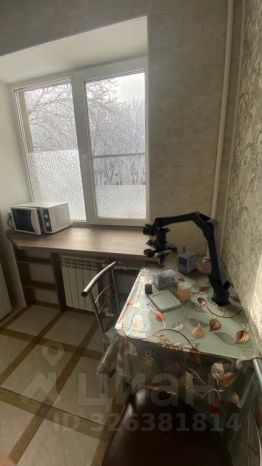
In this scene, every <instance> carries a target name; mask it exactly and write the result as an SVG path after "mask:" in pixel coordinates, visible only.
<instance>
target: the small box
mask: <svg viewBox="0 0 262 466" xmlns="http://www.w3.org/2000/svg"><path fill="white" fill-rule="evenodd" d="M177 257H178V259H177V260H178V263H177V272H179V273H181V274H184V275H188V274H190V273H191V272H192V271H194V270H196V263H197V262H196V259H197V253H195V252H192V251H188V250H187V251H185V253H184V254H182V255H180V256H178V255H177Z"/></svg>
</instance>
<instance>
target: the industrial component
mask: <svg viewBox="0 0 262 466" xmlns="http://www.w3.org/2000/svg"><path fill="white" fill-rule="evenodd" d="M181 246H182V247H181V250H182V251H181V252H178V254H177V258H178V256H180V255H182V254H184V253H185V252H187V251H186V248H187V247H186V244H182V245H181Z"/></svg>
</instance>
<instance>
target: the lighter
mask: <svg viewBox="0 0 262 466" xmlns="http://www.w3.org/2000/svg"><path fill="white" fill-rule="evenodd" d="M201 264H202V265H201V273H202V274H206V273H209V272H210V271H211V270H212V269H211V262H210V256H209V257H207V256H204V257H203V259H202V263H201Z"/></svg>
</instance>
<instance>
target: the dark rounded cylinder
mask: <svg viewBox="0 0 262 466" xmlns="http://www.w3.org/2000/svg"><path fill="white" fill-rule="evenodd" d="M144 294H146V295H148V296H149V295H151V294H153V284H152V283H145V284H144Z"/></svg>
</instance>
